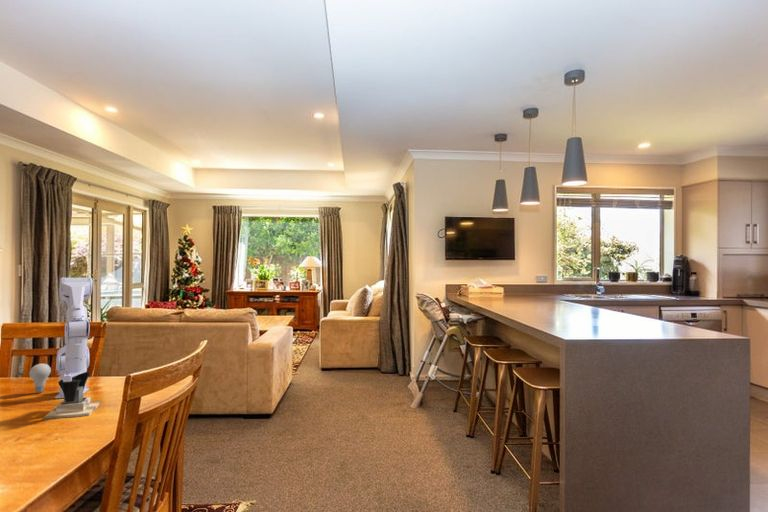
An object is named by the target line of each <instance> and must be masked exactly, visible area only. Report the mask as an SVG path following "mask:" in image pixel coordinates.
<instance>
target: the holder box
mask: <svg viewBox="0 0 768 512" xmlns="http://www.w3.org/2000/svg"><path fill="white" fill-rule="evenodd" d="M91 399H92V397H91V396H86V397H85V396H83V402H82V403H76V404H64V399H63V400H62V401H61V402H59V403H58V404H57V405H56V406H55V407H54V408H53V409H51V411H49V412H48V413H47V414H45V416H43V420H44V421H45V420H54V419H55V420H56V419H65V418H66V419H67V418H76V417H87V416H88V417H89V416H91V414H92V413H93V412H94V411H95V410H96V409H97V408H98V407H99V406H100V405H101V403H102V401H101V400H100V401H99V400H98V401H91Z"/></svg>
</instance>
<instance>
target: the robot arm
mask: <svg viewBox="0 0 768 512" xmlns="http://www.w3.org/2000/svg"><path fill="white" fill-rule="evenodd" d="M93 282H94V281H93V278H92V277H90V276H89V277H65V276H64V277H63V276H61V277H60V278H59V290H58V291H59V298H60V300H61V301H63V302H66V305H67V309H66V323H65V324H64V340H65V345H64V346H62V347H61V348H59V349H58V350H57V352H56V357H55V358H56V359H55V360H56V361H55V363H56V365H55V371H57V372H59V380H58V386H59V393H58V394H57V395H55V396H54V399H64V397H65V401H66V402H73V401H74V400H75V396H76V391H77V388H78V387H81V386H83V395H84V394H85V393H86V392H88V391H89V390H90V388H89V387H87V381H88V378H89V377H90V375H91V371H88V368H89V366H90V349H89V347H88V338H89V336H90V330H91V329H90V328H91V327H90V320H89V318H88V308H87V307H86V305H84V302H85V301H86V300H87V301H88V300H90V298H91V296H92V293H93V284H94V283H93Z"/></svg>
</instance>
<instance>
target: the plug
mask: <svg viewBox="0 0 768 512" xmlns="http://www.w3.org/2000/svg"><path fill="white" fill-rule="evenodd" d="M83 397H84V394H83V386H81V387H78V388H77V391H76V396H75V400H74V401H73V402H66V401H65V397H64V398H63V400H64V404H76V403H82V402H83Z"/></svg>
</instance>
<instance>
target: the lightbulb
mask: <svg viewBox="0 0 768 512" xmlns="http://www.w3.org/2000/svg"><path fill="white" fill-rule="evenodd" d="M51 372H52V368H51V367H50V365H49V364H47V363H38V364H35V365H33V366H32V367H31V369H30V371H29V377H30V378H31V379H32V381H33V383H34V384H33V385H34V392H35V393H37V394H41V393H42V392H44V391H45V385H46V381H47V379H48V378H49V376H50V375H51Z"/></svg>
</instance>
